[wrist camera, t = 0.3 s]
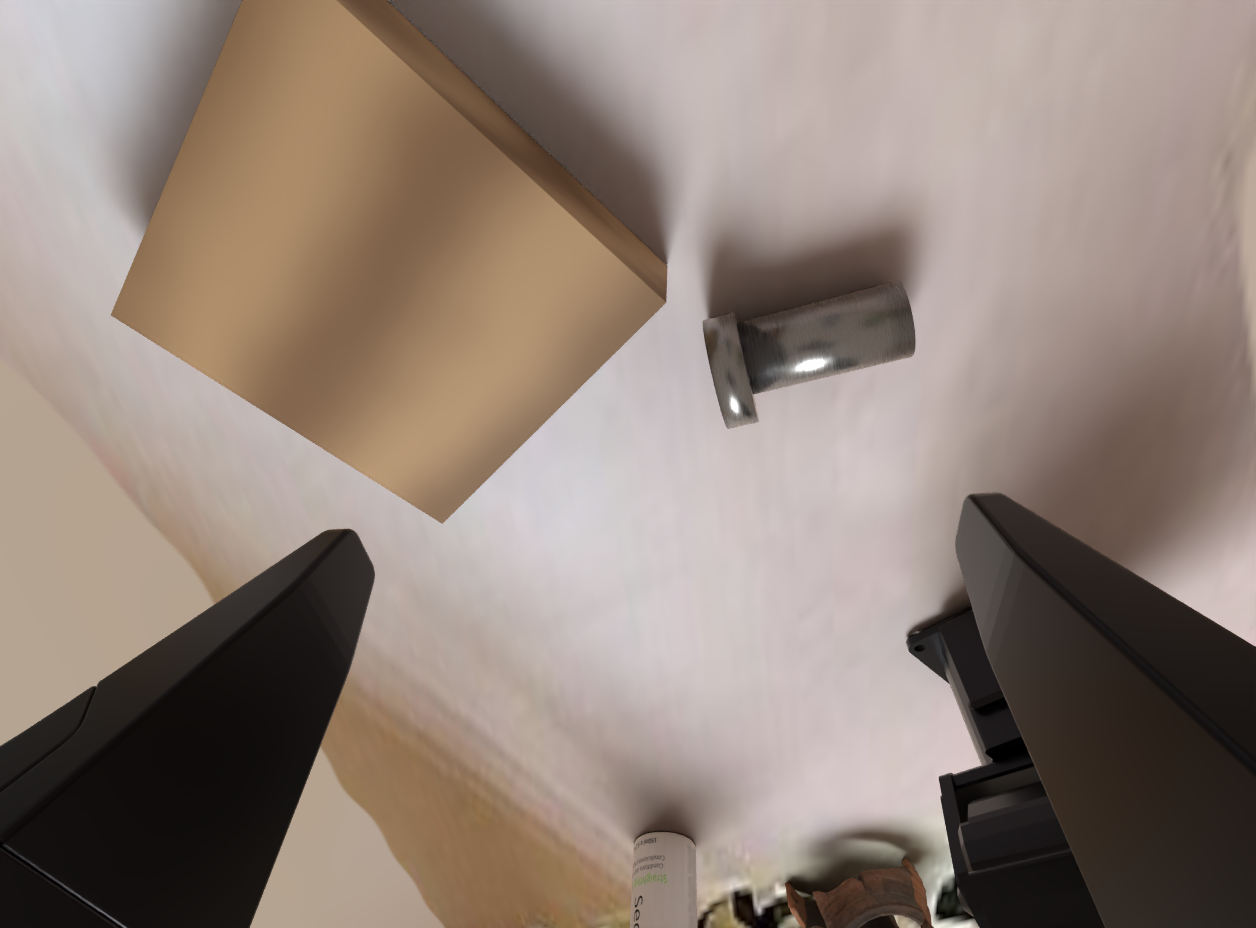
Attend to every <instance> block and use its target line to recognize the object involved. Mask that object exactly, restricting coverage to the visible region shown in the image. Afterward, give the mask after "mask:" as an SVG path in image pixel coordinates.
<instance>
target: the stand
mask: <svg viewBox="0 0 1256 928" xmlns="http://www.w3.org/2000/svg"><path fill="white" fill-rule="evenodd" d="M666 293H667V265H666V264H665V263H664V262H663V261H662V260H661V259H659V258H658V257H657V256H656V255H655V254H654V253H653V252H652V251H651V250H650V249H649V248H648V247H647V246H646V245H645V244H644V243H643V242H642V241H640V240H639V239H638V238H637V237H636V236H635V235H634V234H633V233H632V232H631V231H630V230H629V229H628V228H627V227H626V226H625V225H624V224H623V223H621V222H620V221H619V220H618V219H617V218H616V217H615V216H614V215H613V214H612V213H611V212H610V211H609V210H608V209H607V208H606V207H605V206H604V205H602V204H601V203H600V202H599V201H598V200H597V199H596V198H595V197H594V196H593V195H592V194H591V193H590V192H589V191H588V190H587V189H586V188H585V187H583V186H582V185H581V184H580V183H579V182H578V181H577V180H576V179H575V178H574V177H573V176H572V175H571V174H570V173H569V172H568V171H567V170H565V169H564V168H563V167H562V166H561V165H560V164H559V163H558V162H557V161H556V160H555V159H554V158H553V157H552V156H551V155H550V154H549V153H548V152H546V151H545V150H544V149H543V148H542V147H541V146H540V145H539V144H538V143H537V142H536V141H535V140H534V139H533V138H532V137H531V136H530V135H529V134H527V133H526V132H525V131H524V130H523V129H522V128H521V127H520V126H519V125H518V124H517V123H516V122H515V121H514V120H513V119H512V118H511V117H510V116H508V115H507V114H506V113H505V112H504V111H503V110H502V109H501V108H500V107H499V106H498V105H497V104H496V103H495V102H494V101H493V100H492V99H491V98H489V97H488V96H487V95H486V94H485V93H484V92H483V91H482V90H481V89H480V88H479V87H478V86H477V85H476V84H475V83H474V82H473V81H471V80H470V79H469V78H468V77H467V76H466V75H465V74H464V73H463V72H462V71H461V70H460V69H459V68H458V67H457V66H456V65H455V64H454V63H452V62H451V61H450V60H449V59H448V58H447V57H446V56H445V55H444V54H443V53H442V52H441V51H440V50H439V49H438V48H437V47H436V46H435V45H433V44H432V43H431V42H430V41H429V40H428V39H427V38H426V37H425V36H424V35H423V34H422V33H421V32H420V31H419V30H418V29H417V28H416V27H414V26H413V25H412V24H411V23H410V22H409V21H408V20H407V19H406V18H405V17H404V16H403V15H402V14H401V13H400V12H399V11H398V10H397V9H395V8H394V7H393V6H392V5H391V4H390V3H389V2H388V1H387V0H242V3H241V5H240V8H239V10H238V12H237V15H236V17H235V19H234V22H233V24H232V27H231V29H230V31H229V34H228V36H227V39H226V41H225V43H224V46H223V48H222V51H221V53H220V55H219V58H218V60H217V62H216V65H215V67H214V70H213V72H212V74H211V77H210V79H209V82H208V84H207V86H206V89H205V91H204V94H203V96H202V98H201V101H200V103H199V106H198V108H197V110H196V113H195V115H194V117H193V120H192V122H191V125H190V127H189V129H188V132H187V134H186V137H185V139H184V141H183V144H182V146H181V149H180V151H179V153H178V156H177V158H176V160H175V163H174V165H173V168H172V170H171V172H170V175H169V177H168V180H167V182H166V184H165V187H164V189H163V192H162V194H161V196H160V199H159V201H158V203H157V206H156V208H155V211H154V213H153V215H152V218H151V220H150V223H149V225H148V227H147V230H146V232H145V235H144V237H143V239H142V242H141V244H140V246H139V249H138V251H137V254H136V256H135V258H134V261H133V263H132V266H131V268H130V270H129V273H128V275H127V278H126V280H125V282H124V285H123V287H122V289H121V292H120V294H119V297H118V299H117V301H116V304H115V306H114V309H113V311H112V313H111V316H113V317H115V318H116V319H118V320H119V321H121V322H122V323H124V324H126V325H127V326H129V327H130V328H132V329H134V330H135V331H137V332H138V333H140V334H142V335H143V336H145V337H146V338H148V339H149V340H151V341H153V342H154V343H156V344H157V345H159V346H161V347H162V348H164V349H165V350H167V351H169V352H170V353H172V354H173V355H175V356H176V357H178V358H180V359H181V360H183V361H184V362H186V363H188V364H189V365H191V366H192V367H194V368H196V369H197V370H199V371H200V372H202V373H204V374H205V375H207V376H208V377H210V378H211V379H213V380H215V381H216V382H218V383H219V384H221V385H223V386H224V387H226V388H227V389H229V390H231V391H232V392H234V393H235V394H237V395H238V396H240V397H242V398H243V399H245V400H246V401H248V402H250V403H251V404H253V405H254V406H256V407H258V408H259V409H261V410H262V411H264V412H266V413H267V414H269V415H270V416H272V417H273V418H275V419H277V420H278V421H280V422H281V423H283V424H285V425H286V426H288V427H289V428H291V429H293V430H294V431H296V432H297V433H299V434H300V435H302V436H304V437H305V438H307V439H308V440H310V441H312V442H313V443H315V444H316V445H318V446H320V447H321V448H323V449H324V450H326V451H328V452H329V453H331V454H332V455H334V456H335V457H337V458H339V459H340V460H342V461H343V462H345V463H347V464H348V465H350V466H351V467H353V468H355V469H356V470H358V471H359V472H361V473H362V474H364V475H366V476H367V477H369V478H370V479H372V480H374V481H375V482H377V483H378V484H380V485H382V486H383V487H385V488H386V489H388V490H389V491H391V492H393V493H394V494H396V495H397V496H399V497H401V498H402V499H404V500H405V501H407V502H409V503H410V504H412V505H413V506H415V507H417V508H418V509H420V510H421V511H423V512H424V513H426V514H428V515H429V516H431V517H432V518H434V519H436V520H437V521H439V522H440V523H442V524H443V523H444V522H445V521H446V520H447V519H448V518H449V517H450V516H451V515H452V514H453V513H454V512H455V511H456V510H457V509H458V508H459V507H460V506H461V505H462V504H463V503H464V502H465V501H466V500H467V499H468V498H469V497H470V496H471V495H472V494H473V493H474V492H475V491H476V490H477V489H478V488H479V487H480V486H481V485H482V484H483V483H484V482H485V481H486V480H487V479H488V478H489V477H490V476H491V475H492V474H493V473H494V472H495V471H496V470H497V469H498V468H499V467H500V466H501V465H502V464H503V463H504V462H505V461H506V460H507V459H508V458H509V457H510V456H511V455H512V454H513V453H514V452H515V451H516V450H517V449H518V448H519V447H520V446H521V445H522V444H523V443H524V442H526V441H527V440H528V439H529V438H530V437H531V436H532V435H533V434H534V433H535V432H536V431H537V430H538V429H539V428H540V427H541V426H542V425H543V424H544V423H545V422H546V421H547V420H548V419H549V418H550V417H551V416H552V415H553V414H554V413H555V412H556V411H557V410H558V409H559V408H560V407H561V406H562V405H563V404H564V403H565V402H566V401H567V400H568V399H569V398H570V397H571V396H572V395H573V394H574V393H575V392H576V391H577V390H578V389H579V388H580V387H581V386H582V385H583V384H584V383H585V382H586V381H587V380H588V379H589V378H590V377H591V376H592V375H593V374H594V373H595V372H596V371H597V370H598V369H599V368H600V367H601V366H602V365H603V364H604V363H605V362H606V361H607V360H608V359H609V358H610V357H611V356H613V355H614V354H615V353H616V352H617V351H618V350H619V349H620V348H621V347H622V346H623V345H624V344H625V343H626V342H627V341H628V340H629V339H630V338H631V337H632V336H633V335H634V334H635V333H636V332H637V331H638V330H639V329H640V328H641V327H642V326H643V325H644V324H645V323H646V322H647V321H648V320H649V319H650V318H651V317H652V316H653V315H654V314H655V313H656V312H657V311H658V310H659V309H660V308H661V307H662V306H663V305H664V304H665V303H666Z"/></svg>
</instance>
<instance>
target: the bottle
mask: <svg viewBox="0 0 1256 928" xmlns="http://www.w3.org/2000/svg"><path fill="white" fill-rule="evenodd" d="M630 928H697V889H696V849H695V845H694V843H693V842H692V841H691V840H690V839H689V838H687V837H685V836H683V835H679V834H676V833H670V832H653V833H648V834H645V835H642V836H640V837H639V838H638V839H637V840H636V841H635V844H634V856H633V876H632V896H631V916H630Z"/></svg>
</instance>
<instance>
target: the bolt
mask: <svg viewBox="0 0 1256 928" xmlns="http://www.w3.org/2000/svg"><path fill="white" fill-rule="evenodd" d="M703 332H704V338H705V344H706V349H707V355H708V360H709V364H710V369H711V373H712V378H713V382H714V386H715V390H716V394H717V398H718V402H719V405H720V409H721V412H722V416H723V419H724V422H725V424H726V427H727V428H728V429H730V428H734V427H738V426H743V425H747V424H752V423H756V422H759V420H758V414H757V409H756V404H755V400H754V395H753V394H757V393H761V392H766V391H770V390H774V389H778V388H782V387H787V386H791V385H795V384H799V383H803V382H808V381H812V380H816V379H820V378H824V377H829V376H833V375H837V374H841V373H846V372H850V371H854V370H858V369H862V368H867V367H871V366H875V365H879V364H883V363H888V362H892V361H896V360H900V359H904V358H909V357H912V356H913V355H914V352H915V329H914V322H913V316H912V312H911V307H910V304H909V300H908V297H907V294H906V292H905V290H904V288H903V286H902V284H901V283H900V282H899V281H894V282H890V283H886V284H882V285H879V286H875V287H871V288H867V289H864V290H860V291H856V292H852V293H848V294H845V295H841V296H837V297H833V298H830V299H826V300H822V301H818V302H815V303H811V304H807V305H803V306H799V307H796V308H792V309H788V310H784V311H781V312H777V313H773V314H769V315H765V316H762V317H758V318H754V319H750V320H747V321H743V322H739V323H737V321H736V317H735V314H734V312H733V313H729V314H726V315H722V316H718V317H714V318H711V319H707V320H703Z"/></svg>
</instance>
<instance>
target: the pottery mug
mask: <svg viewBox="0 0 1256 928" xmlns="http://www.w3.org/2000/svg"><path fill="white" fill-rule="evenodd" d="M902 865H903V868H888V869H876V870H865V871H862V872H860V873H859V875H858V880H857V879H855V878H849V879H847V880H845V881H844V882H843V883H842V884H841V885H839V886H838V887H837V888H835V889H834V890H832V891H830V892H827V893H824V892H820V891H815V892H813V896H814V897H815V899H816V902H811V901H808V900H806V899H803V898H802V897H801V896H800V895H799V894H798V893H797V892H796V891H795V890H794V889H793V887H792V886H791V884H790V883H785V886H786V893H787V901H788V905H789V908H790V910H791V912H792V914H793V915H794V916H795V918H796V920H797V921H798V923H799V924H800V926H801V927H802V928H899V927H898V925H897V923H896V920H895V918H894V916H893V915H902V916H905V917H908V918H910V919H912V920H914V921H916V922H917V923H918V924H921V928H934V927H933V926H932V925H931V915H930V911H929V908H928V906H927V898H926V890H925V888H924V886H923V882H922V880H921V878H920V877H919V875H918V873H917V871H916V870H915V868H914V867H913V866H912V864H911V863H910V862H909V861H908V860H907V859H903V861H902Z"/></svg>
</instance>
